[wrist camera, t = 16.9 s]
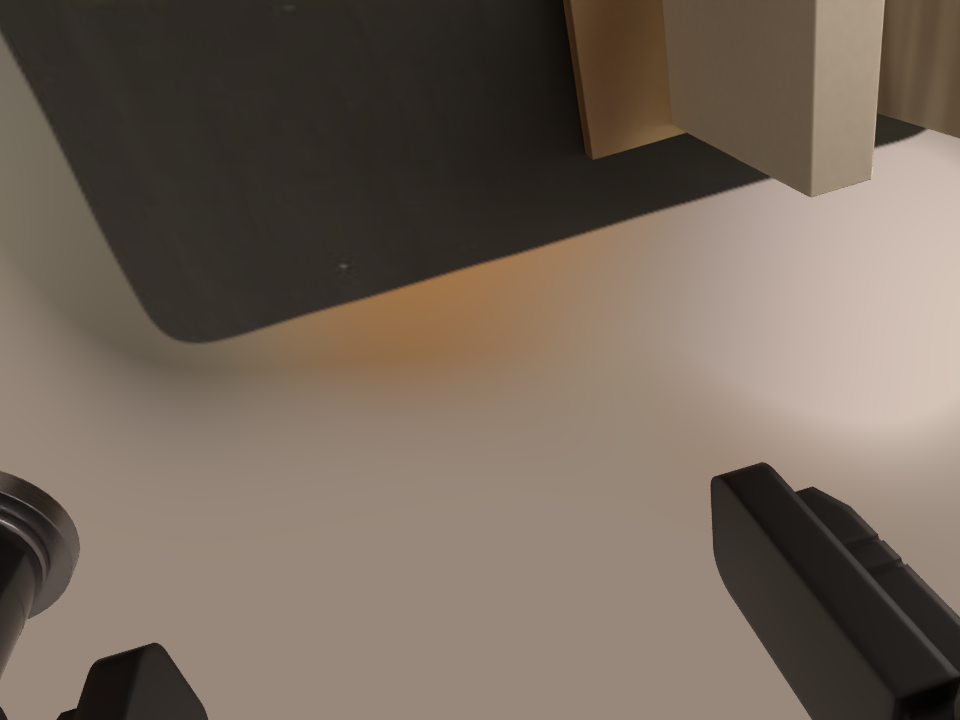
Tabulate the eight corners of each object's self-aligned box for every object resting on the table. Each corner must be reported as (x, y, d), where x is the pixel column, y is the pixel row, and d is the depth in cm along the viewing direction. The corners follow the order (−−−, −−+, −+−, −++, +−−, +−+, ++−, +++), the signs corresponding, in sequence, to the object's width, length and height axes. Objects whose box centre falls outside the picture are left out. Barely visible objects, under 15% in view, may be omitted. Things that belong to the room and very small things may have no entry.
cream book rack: (585, 154, 37) (699, 247, 26) (553, -65, 31) (679, -68, 20) (907, 60, 37) (1155, 110, 26) (929, -169, 32) (1251, -227, 21)
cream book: (671, 125, 36) (810, 198, 25) (654, -80, 31) (817, -90, 21) (716, 112, 36) (872, 179, 26) (706, -95, 31) (894, -112, 21)
